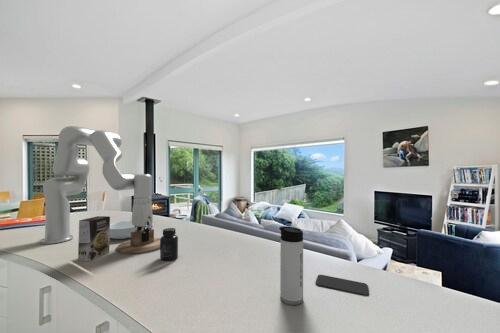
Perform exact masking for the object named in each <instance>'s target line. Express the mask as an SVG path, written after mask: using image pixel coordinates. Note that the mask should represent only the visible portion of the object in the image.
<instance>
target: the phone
mask: <svg viewBox="0 0 500 333" xmlns="http://www.w3.org/2000/svg"><path fill="white" fill-rule="evenodd" d="M315 285H316V286H317V287H321V288H325V289H330V290H334V291H335V290H336V291H340V292H343V293H348V294H349V293H350V294H355V295H358V296H359V295H360V296H364V297H368V296H369V295H370V293H369V291H370V290H369V285H368V284H367V283H365V282H362V281H361V282H360V281H354V280H349V279H345V278H340V277H335V276H331V275H326V274H318V275H317V276H316V281H315Z"/></svg>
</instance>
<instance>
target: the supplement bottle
mask: <svg viewBox="0 0 500 333" xmlns="http://www.w3.org/2000/svg"><path fill="white" fill-rule="evenodd" d="M160 238H161V239H160V250H159V260H160V261H162V262H168V263H172V262H174V261H176V260H178V257H179V236H178V235H177V234H176V228H175V227H167V228H164V229H162V236H161V237H160Z"/></svg>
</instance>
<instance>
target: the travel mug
mask: <svg viewBox="0 0 500 333" xmlns="http://www.w3.org/2000/svg"><path fill="white" fill-rule="evenodd" d="M279 231H280V258H279V259H280V262H279V264H280V265H279V266H280V268H279V269H280V272H279V273H280V275H279V276H280V280H279V281H280V285H279V286H280V287H279V289H280V291H279V292H280V295H279V296H280V300H281V301H282V302H283V303H285V304H287V305H289V306H298V305H300V304H302V303H303V302H304V231H303V230H302V229H301V228H298V227H293V226H287V225H286V226H284V225H283V226H279Z"/></svg>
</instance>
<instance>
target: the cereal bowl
mask: <svg viewBox="0 0 500 333" xmlns="http://www.w3.org/2000/svg"><path fill="white" fill-rule="evenodd" d="M134 231H135V226H134V225H133V224H132V220H124V221H117V222H113V223H110V239H115V240H125V239H130V236H131V232H134Z"/></svg>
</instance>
